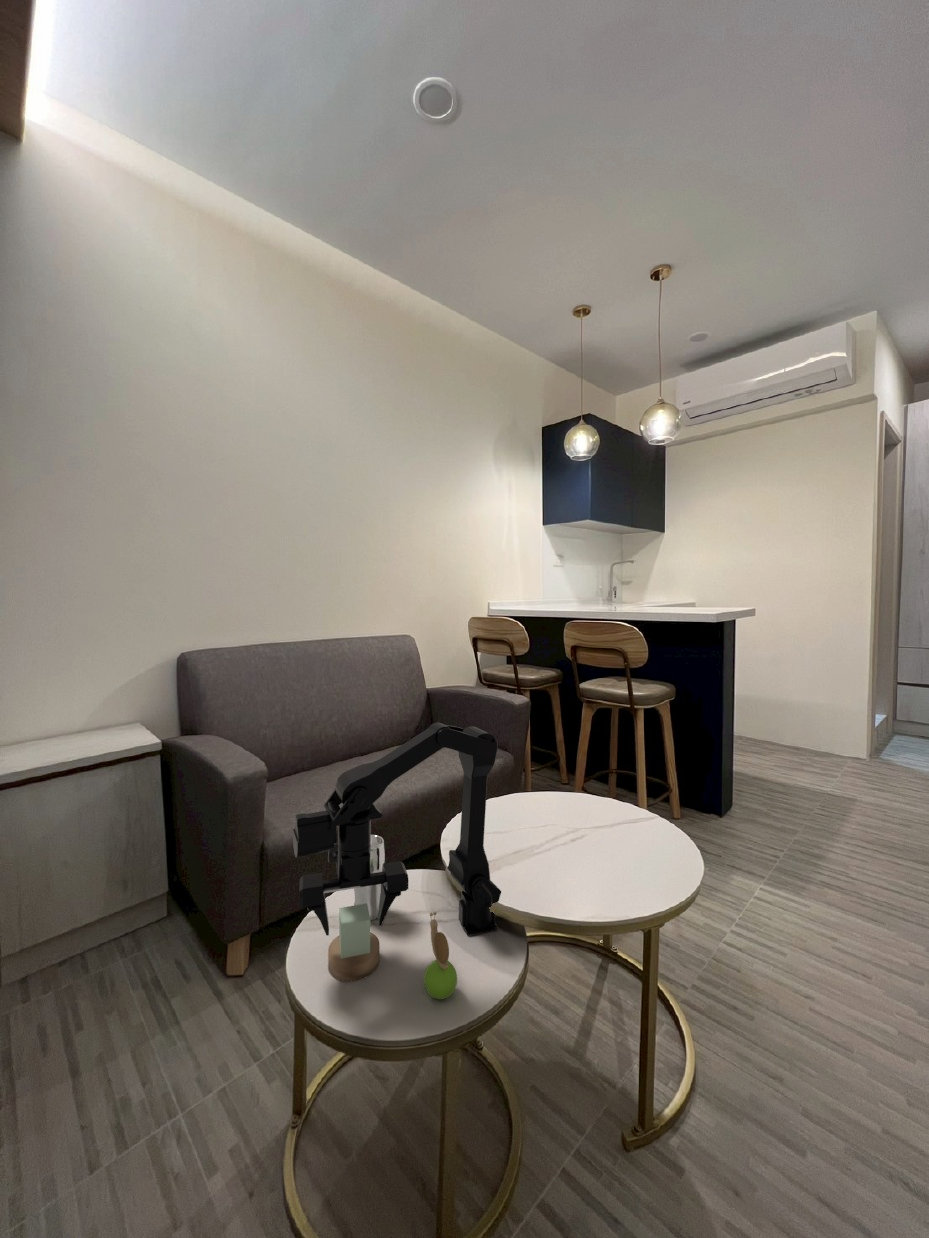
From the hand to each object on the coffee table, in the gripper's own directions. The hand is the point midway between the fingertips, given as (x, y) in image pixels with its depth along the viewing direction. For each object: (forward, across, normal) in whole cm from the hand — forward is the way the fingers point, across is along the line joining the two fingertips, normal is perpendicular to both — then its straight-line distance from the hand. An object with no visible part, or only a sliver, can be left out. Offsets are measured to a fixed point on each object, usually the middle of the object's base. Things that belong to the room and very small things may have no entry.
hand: (354, 929), depth 90 cm
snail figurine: (+6, -13, +11) cm, 18 cm away
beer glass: (+6, -4, -14) cm, 16 cm away
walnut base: (+6, 0, 0) cm, 6 cm away
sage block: (+3, 0, 0) cm, 3 cm away
